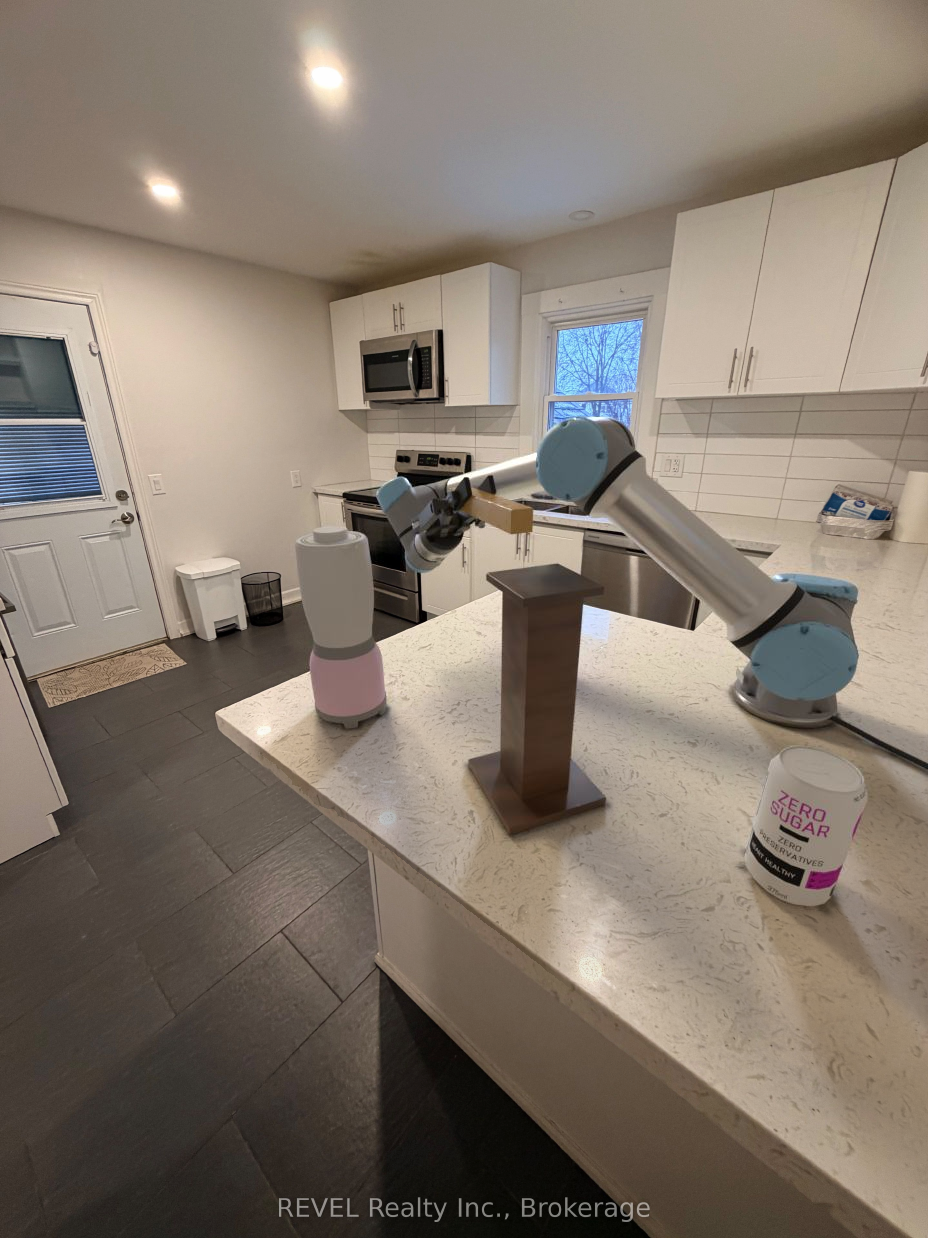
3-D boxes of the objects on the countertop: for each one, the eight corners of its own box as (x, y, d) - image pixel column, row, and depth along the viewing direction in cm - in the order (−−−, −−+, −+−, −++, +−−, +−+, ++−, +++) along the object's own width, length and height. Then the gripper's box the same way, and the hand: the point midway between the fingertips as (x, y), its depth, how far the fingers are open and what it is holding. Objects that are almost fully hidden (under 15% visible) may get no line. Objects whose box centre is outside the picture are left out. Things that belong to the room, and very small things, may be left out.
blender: (401, 709, 87) (387, 528, 75) (341, 739, 79) (314, 543, 67) (352, 678, 97) (333, 515, 85) (294, 702, 90) (264, 526, 77)
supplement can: (816, 856, 57) (854, 750, 51) (841, 921, 50) (887, 805, 44) (738, 839, 59) (765, 735, 54) (750, 898, 52) (783, 785, 46)
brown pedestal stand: (468, 765, 73) (464, 570, 61) (551, 743, 77) (563, 557, 66) (509, 835, 61) (514, 607, 49) (605, 804, 65) (631, 589, 53)
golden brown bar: (450, 506, 79) (450, 486, 78) (468, 504, 80) (468, 485, 79) (510, 534, 60) (511, 509, 59) (532, 532, 61) (533, 507, 60)
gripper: (482, 550, 95) (535, 505, 73) (400, 560, 90) (431, 514, 67) (474, 513, 96) (525, 457, 73) (393, 520, 90) (421, 462, 68)
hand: (480, 485), depth 71 cm, fingers closed on golden brown bar, 3 cm apart
